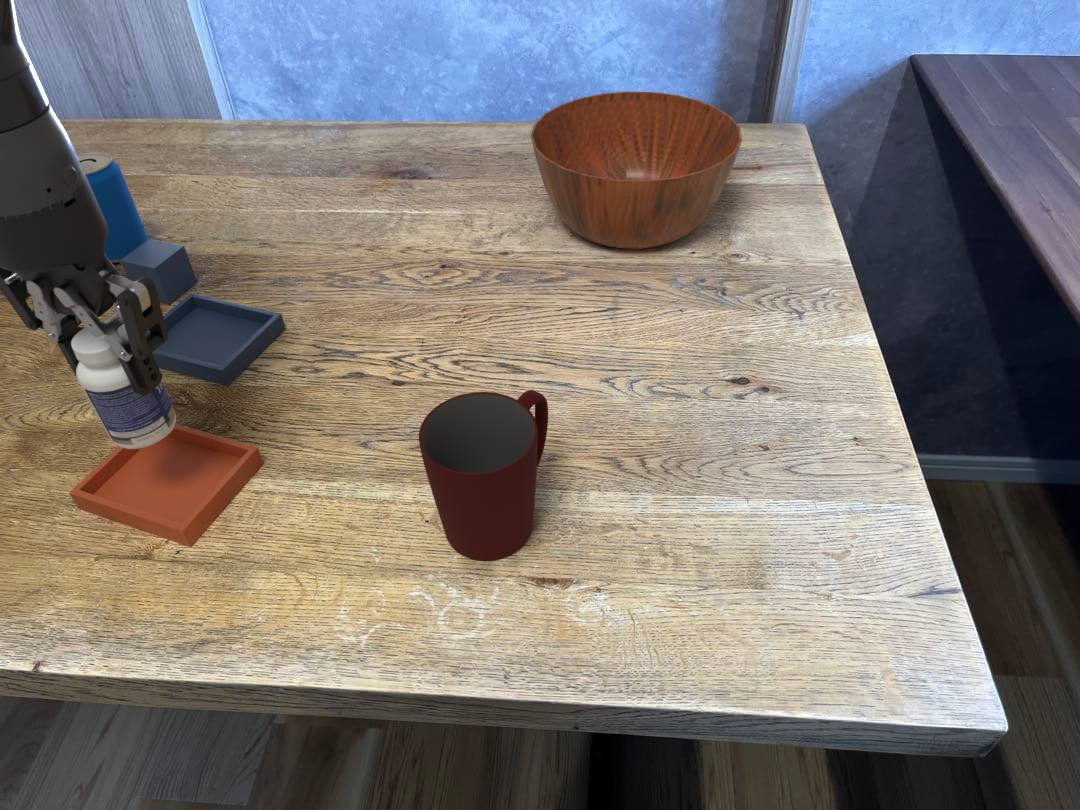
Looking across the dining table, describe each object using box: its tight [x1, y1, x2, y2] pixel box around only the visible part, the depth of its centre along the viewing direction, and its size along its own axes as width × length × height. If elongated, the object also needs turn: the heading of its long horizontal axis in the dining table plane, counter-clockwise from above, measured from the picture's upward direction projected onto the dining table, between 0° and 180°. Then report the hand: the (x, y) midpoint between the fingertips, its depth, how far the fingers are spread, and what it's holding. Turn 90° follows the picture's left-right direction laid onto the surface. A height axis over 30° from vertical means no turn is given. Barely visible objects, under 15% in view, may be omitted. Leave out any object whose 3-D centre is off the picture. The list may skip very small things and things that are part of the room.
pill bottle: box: [71, 324, 177, 449], centre depth 65 cm, size 5×5×10 cm
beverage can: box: [77, 151, 150, 264], centre depth 99 cm, size 6×6×12 cm
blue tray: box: [147, 292, 287, 387], centre depth 87 cm, size 12×10×2 cm
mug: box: [418, 389, 549, 561], centre depth 66 cm, size 12×9×11 cm
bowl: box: [530, 91, 743, 250], centre depth 101 cm, size 25×25×11 cm
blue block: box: [119, 238, 198, 306], centre depth 95 cm, size 5×5×5 cm
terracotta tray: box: [68, 423, 264, 548], centre depth 72 cm, size 12×10×2 cm
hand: (119, 379), depth 65 cm, fingers closed on pill bottle, 5 cm apart
